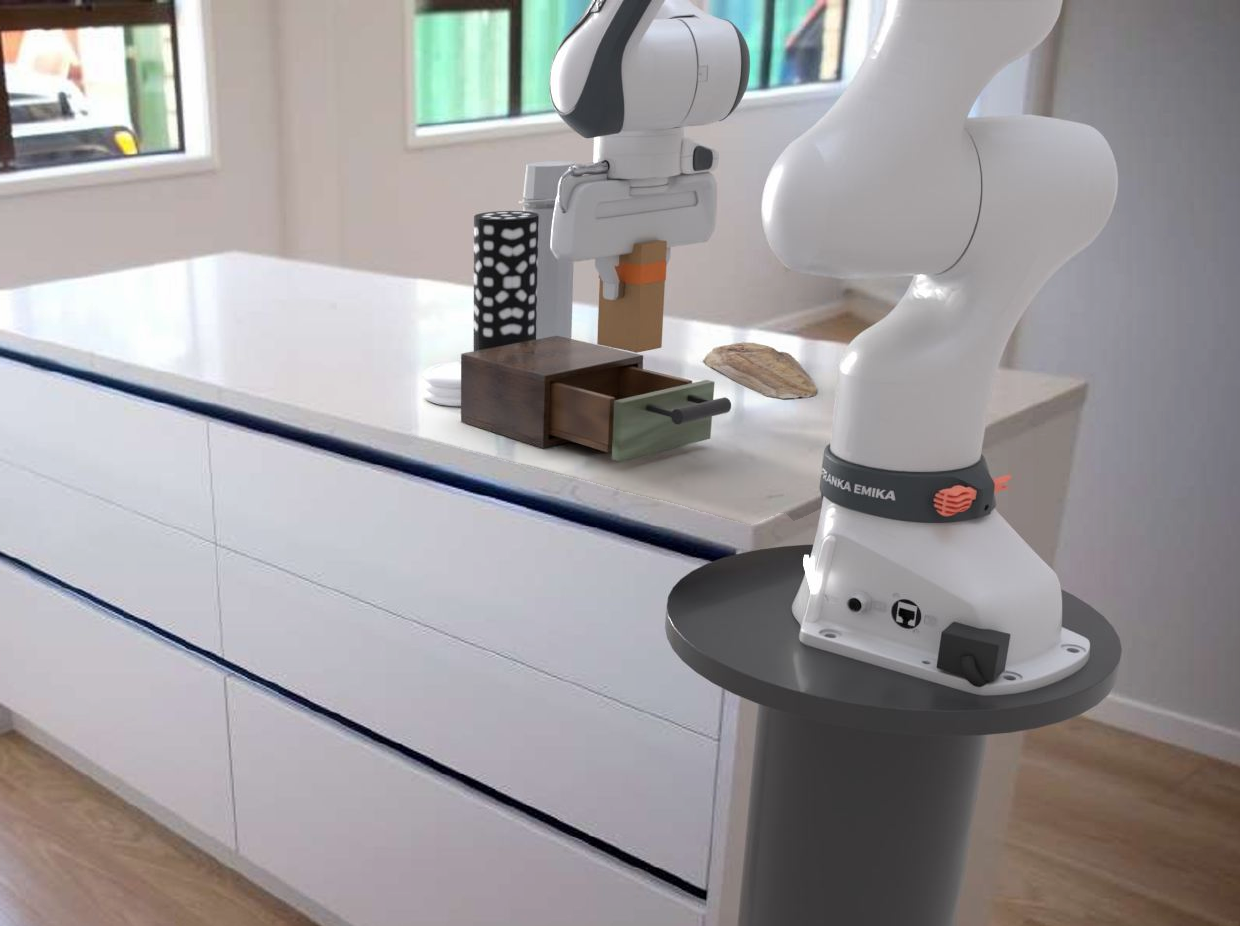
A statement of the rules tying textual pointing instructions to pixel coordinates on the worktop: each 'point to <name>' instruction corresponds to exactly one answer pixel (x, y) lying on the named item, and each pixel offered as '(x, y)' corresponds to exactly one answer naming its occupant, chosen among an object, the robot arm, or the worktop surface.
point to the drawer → (632, 411)
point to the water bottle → (549, 251)
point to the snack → (636, 301)
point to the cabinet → (528, 383)
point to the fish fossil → (762, 370)
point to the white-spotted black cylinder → (505, 278)
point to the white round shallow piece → (443, 384)
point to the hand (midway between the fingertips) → (631, 295)
